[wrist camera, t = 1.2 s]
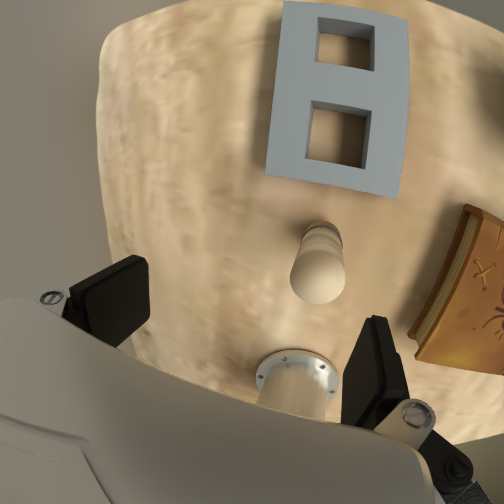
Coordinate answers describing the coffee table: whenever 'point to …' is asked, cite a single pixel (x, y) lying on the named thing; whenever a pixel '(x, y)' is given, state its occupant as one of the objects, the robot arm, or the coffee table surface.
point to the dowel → (319, 264)
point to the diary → (467, 300)
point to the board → (340, 96)
